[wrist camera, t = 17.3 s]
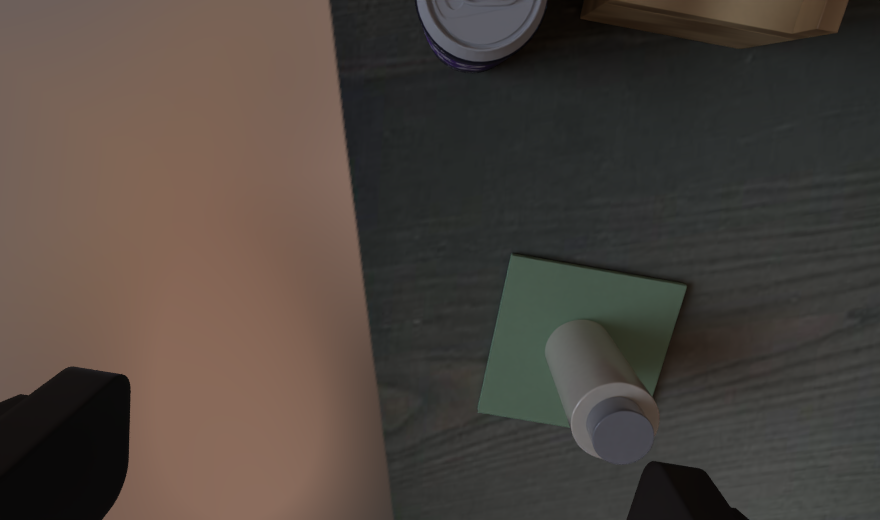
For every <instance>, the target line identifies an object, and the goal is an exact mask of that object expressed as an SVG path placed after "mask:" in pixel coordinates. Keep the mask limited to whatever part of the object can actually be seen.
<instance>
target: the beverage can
mask: <svg viewBox="0 0 880 520" xmlns="http://www.w3.org/2000/svg"><path fill="white" fill-rule="evenodd" d="M415 4H416V9H417V13H418V17H419V20H420V22H421V25H422V27H423V30H424V32H425V35H426V38H427V40H428V43H429V45H430V47H431V49H432V50H433V52H434V53H435V55H436V56H437V57H438V58H439V59H440V60H441V61H442V62H443V63H444V64H446V65H447V66H449V67H450V68H452V69H455V70H457V71H460V72H465V73H478V72H483V71H487V70H489V69H492V68H494V67H495V66H497V65H498V64H500V63H501V62H503V61H504V60H506V59H507V58H509V57H510V56H512V55H513V54H515V53H516V52H518V51H519V50H520V49H522V48H523V47H524V46H525V45H526V44H527V43H528V42H529V41H530V40H531V39H532V37H533V36H534V35H535V33H536V32H537V30H538V28H539V26H540V25H541V22H542V20H543V18H544V15H545V12H546V8H547V4H548V0H415Z"/></svg>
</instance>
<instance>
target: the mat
mask: <svg viewBox="0 0 880 520" xmlns="http://www.w3.org/2000/svg"><path fill="white" fill-rule="evenodd" d="M686 289H687V285H685V284H684V283H680V282H674V281H668V280H662V279H657V278H651V277H645V276H640V275H634V274H628V273H622V272H617V271H611V270H605V269H600V268H594V267H588V266H582V265H577V264H571V263H565V262H559V261H554V260H548V259H542V258H537V257H531V256H525V255H519V254H514V253H512V254H511V257H510V262H509V266H508V271H507V276H506V280H505V285H504V289H503V294H502V298H501V303H500V308H499V312H498V317H497V321H496V326H495V330H494V335H493V340H492V344H491V349H490V353H489V358H488V362H487V367H486V371H485V376H484V381H483V385H482V390H481V394H480V399H479V403H478V412H479V413H485V414H491V415H497V416H503V417H509V418H515V419H521V420H527V421H533V422H539V423H545V424H551V425H557V426H563V427H569V428H570V426H569V424H568V421H567V418H566V415H565V412H564V410H563V407H562V404H561V401H560V399H559V396H558V393H557V390H556V388H555V385H554V382H553V379H552V377H551V374H550V371H549V368H548V366H547V363H546V359H545V347H546V343H547V341H548V339H549V337H550V336H551V334H552V333H553V332H554V331H555V330H556V329H557V328H558V327H559V326H561V325H563V324H565V323H567V322H569V321H573V320H590V321H593V322H596V323H598V324H600V325H601V326H603V327H604V328H605V329H606V330H607V331H608V332H609V333H610V335H611V336H612V338H613V339H614V341H615V342H616V344H617V345H618V347H619V348H620V350H621V351H622V353H623V354H624V356H625V357H626V359H627V360H628V362H629V363H630V365H631V366H632V368H633V369H634V371H635V372H636V373H637V375H638V376H639V378H640V379H641V381H642V382H643V384H644V385H645V387H646V388H647V390H648V391H649V393H650V394H651V396H652V397H653V394H654V390H655V387H656V384H657V381H658V378H659V374H660V371H661V368H662V365H663V362H664V359H665V355H666V352H667V349H668V346H669V343H670V339H671V336H672V333H673V330H674V327H675V324H676V320H677V317H678V314H679V311H680V308H681V304H682V301H683V298H684V295H685V292H686Z"/></svg>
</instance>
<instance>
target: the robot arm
mask: <svg viewBox="0 0 880 520" xmlns="http://www.w3.org/2000/svg"><path fill="white" fill-rule="evenodd" d="M130 393H131V391H130V382H129V379H128V378H127V377H126V376H125V375H122V374H116V373H110V372H103V371H98V370H92V369H85V368H79V367H68V368H66V369H64V370H63V371H61V372H60V373H58V374H57V375H56V376H55V377H53V378H52V379H50V380H49V381H48V382H46V383H45V384H43V385H42V386H41V387H40V388H38V389H37V390H35V391H34V392H33V393H31V394H30V395H22V394H20V395H17V396H15V397H13V398H10V399H7V400H5V401H2V402H0V520H102V519H103V518H104V516H105V515H106V514H107V513H108V511H109V510H110V509H111V507H112V506H113V505H114V503H115V501H116V500H117V498H118V496H119V494H120V491H121V488H122V486H123V483H124V481H125V477H126V473H127V468H128V460H129V459H128V458H129V426H130ZM627 520H749V519H748V518H747V517H745V516H744V515H743V514H742V513H741V512H740V511H738V510H737V509H736V508H731V507H730V506H729V504H728V503H727V501H726V500H725V499H724V497H723V496H722V494H721V493H720V491H719V490H718V489H717V487H716V486H715V484H714V483H713V481H712V480H711V478H710V477H709V476H708V474H707V473H706V472H705V471H704V470H702V469H700V468H694V467H687V466H681V465H675V464H669V463H662V462H656V461H652V462H650V463H648V464H647V465H646V467H645V468H644V470H643V473H642V475H641V478H640V481H639V484H638V487H637V490H636V493H635V496H634V499H633V502H632V505H631V508H630V511H629V514H628V517H627Z"/></svg>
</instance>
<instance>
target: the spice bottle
mask: <svg viewBox="0 0 880 520" xmlns="http://www.w3.org/2000/svg"><path fill="white" fill-rule="evenodd" d="M545 359H546V363H547V366H548V368H549V371H550V374H551V377H552V379H553V382H554V385H555V388H556V390H557V393H558V396H559V399H560V401H561V404H562V407H563V410H564V412H565V415H566V418H567V421H568V424H569V426H570V429H571V432H572V435H573V437H574V439H575V441H576V442H577V444H578V445H579V446H580V447H581V448H582V449H583V450H584V451H585V452H587V453H588V454H590V455H592V456H594V457H597V458H601V459H604V460H605V461H607V462H609V463H613V464H619V465H624V464H630V463H633V462H636V461H638V460H640V459H641V458H643V457H644V456H645V455H646V454H647V453H648V452H649V450H650V449H651V447H652V445H653V442H654V436H655V435H656V432H657V430H658V426H659V419H660V418H659V410H658V407H657V404H656V402H655V400H654V399H653V397H652V396H651V394H650V393H649V391H648V390H647V388H646V387H645V385H644V384H643V382H642V381H641V379H640V378H639V376H638V375H637V373H636V372H635V371H634V369H633V368H632V366H631V365H630V363H629V362H628V360H627V359H626V357H625V356H624V354H623V353H622V351H621V350H620V348H619V347H618V345H617V344H616V342H615V341H614V339H613V338H612V336H611V335H610V333H609V332H608V331H607V330H606V329H605V328H604V327H603V326H601V325H600V324H598V323H596V322H593V321H590V320H573V321H569V322H567V323H565V324H563V325H561V326H559V327H558V328H557V329H556V330H555V331H554V332H553V333H552V334H551V336H550V337H549V339H548V341H547V343H546V347H545Z"/></svg>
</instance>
